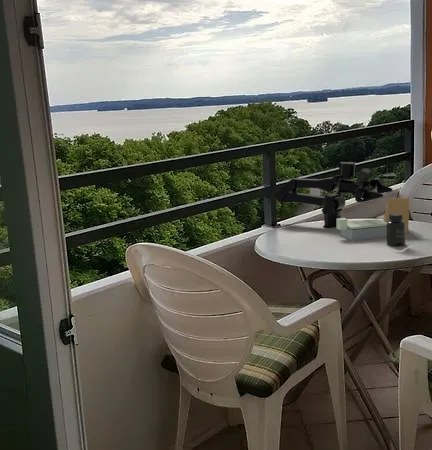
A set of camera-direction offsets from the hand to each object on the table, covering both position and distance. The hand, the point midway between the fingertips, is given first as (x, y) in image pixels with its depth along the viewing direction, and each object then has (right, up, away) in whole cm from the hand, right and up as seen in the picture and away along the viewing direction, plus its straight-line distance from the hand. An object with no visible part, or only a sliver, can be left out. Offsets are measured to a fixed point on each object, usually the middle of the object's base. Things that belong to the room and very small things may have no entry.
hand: (387, 192), depth 262 cm
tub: (-11, -18, -5) cm, 22 cm away
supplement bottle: (-3, -21, -22) cm, 30 cm away
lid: (-13, -14, -7) cm, 20 cm away
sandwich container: (+4, -16, +5) cm, 17 cm away
